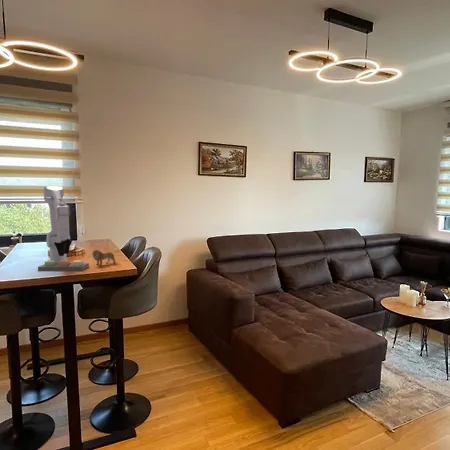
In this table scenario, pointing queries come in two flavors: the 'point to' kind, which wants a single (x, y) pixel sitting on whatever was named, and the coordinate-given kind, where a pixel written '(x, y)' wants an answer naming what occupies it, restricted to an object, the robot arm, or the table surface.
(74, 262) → the cream button
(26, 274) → the table surface
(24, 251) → the table surface
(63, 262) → the terracotta button
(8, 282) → the table surface
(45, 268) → the button panel
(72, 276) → the table surface
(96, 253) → the lion figurine
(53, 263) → the sage button
